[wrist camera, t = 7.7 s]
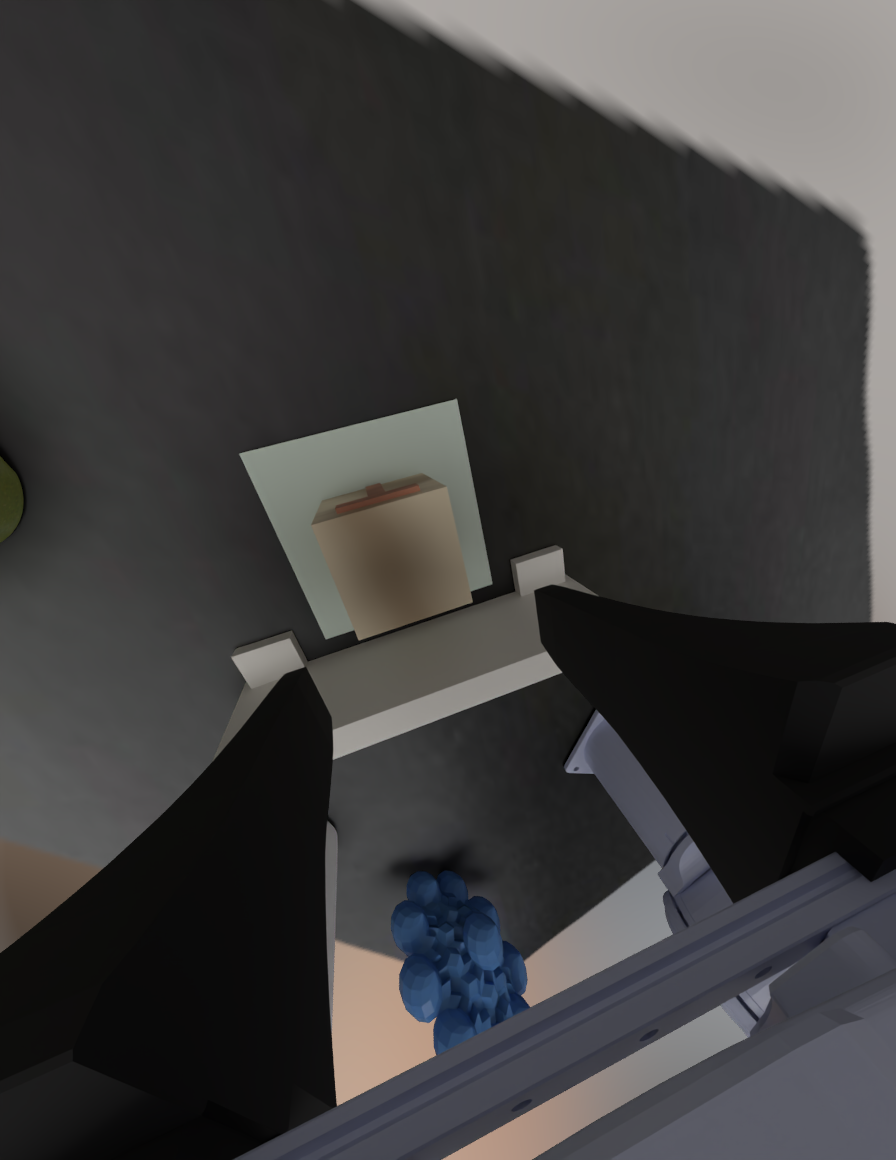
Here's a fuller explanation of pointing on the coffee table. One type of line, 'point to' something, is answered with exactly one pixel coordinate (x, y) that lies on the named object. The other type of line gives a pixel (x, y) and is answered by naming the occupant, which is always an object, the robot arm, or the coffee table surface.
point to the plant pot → (9, 500)
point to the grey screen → (416, 663)
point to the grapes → (455, 960)
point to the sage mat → (351, 463)
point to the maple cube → (393, 553)
